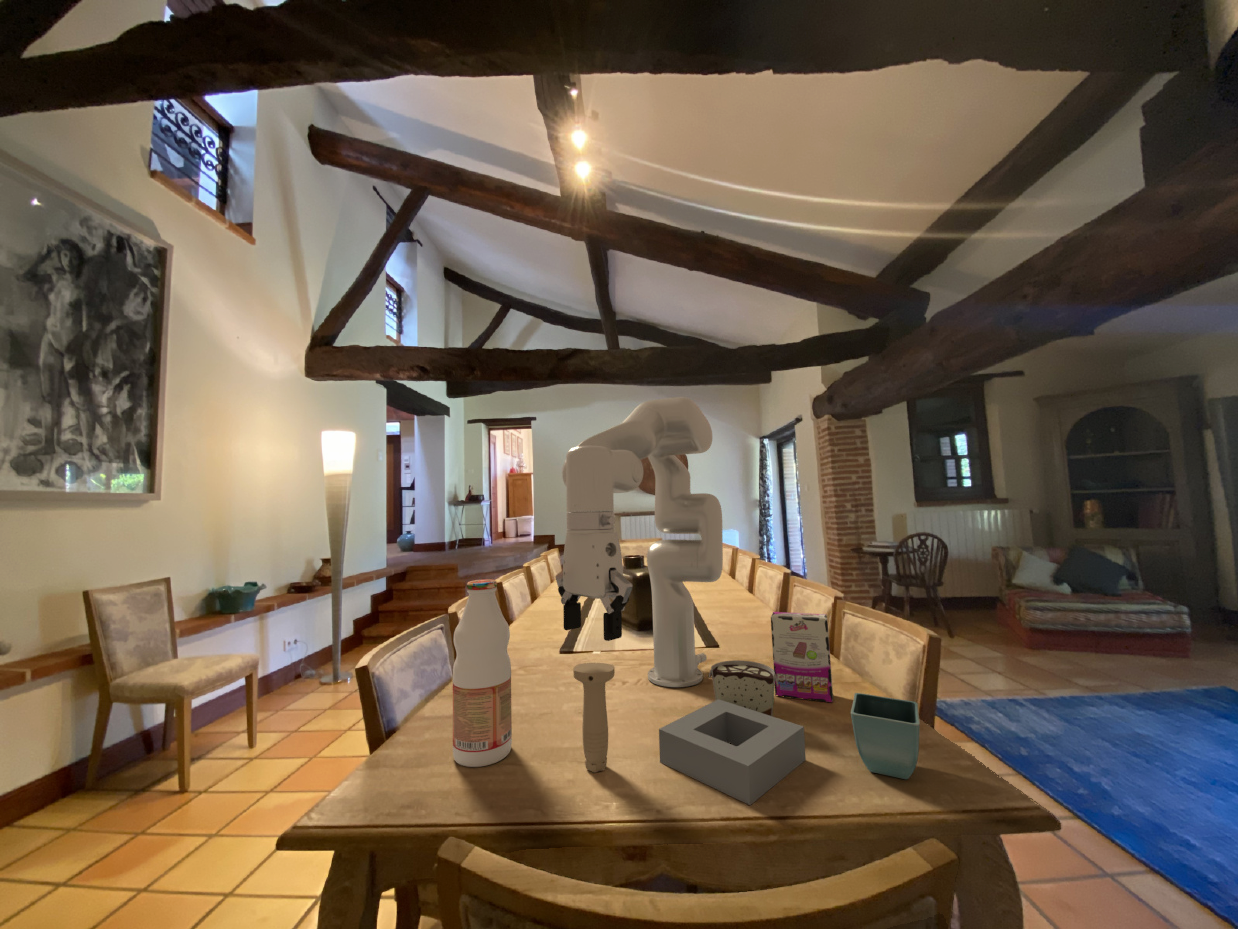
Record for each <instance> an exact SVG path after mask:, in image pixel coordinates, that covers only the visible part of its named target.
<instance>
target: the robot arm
mask: <svg viewBox="0 0 1238 929" xmlns="http://www.w3.org/2000/svg"><path fill="white" fill-rule="evenodd" d="M712 443H713V430H712V427H711V424H710V422H709V420H708V419H707V417H706V416H705V414H704V412H703V411H702V410H701V409H700V407H699V406H698V404H696V402H694V401H693V400H692V399H690V398H688V397H686V396H678V397H677V396H676V397H668V398H659V399H652V400H646V401H643V402H641V403H639V404H638V405H637V406H636V407H635V408H634V409H633V411H632V412H630V413H629V415H628V416H627V417H626V418H625V419H624V420H623V421H622V422H621V423H619V424H617V425H614V426H611V427H610V428H607V429H605V430H603V431H601V432H599V433H597V434H594V435H592V436H590V437H588V438H586V439H584V440H583V441H581V442H580V443H579V444H577V446H574V447H571V448H570V449H569V450H568V451H567V454H566V457H565V458H566V459H565V460H564V463H563V466H562V472H561V474H562V480H563V483H564V485H565V487H566V534H565V541H564V549H563V550H564V551H563V560H562V561H563V562H562V564H563V565H562V570H561V571H559V572H558V573H557V574H556V575H555V582H556V585H557V587H558V588H557V591H558V593H559V595H560V602H561V604H562V605H563V607H562V608H563V611H562V612H563V630H565V631H571V630H575V629H579V628H581V627H582V602H579V600H580V598H581V597H583V598H584V597H585V598H590V599H599V600H600V601H601V603H602V605H603V607H604V609H605V611H606V612H604V613H603V615H602V616H603V619H602V620H603V639H604V641H606V642H609V641H612V640H618V639H620V638H622V637H623V621H622V620H623V616H622V612H623V611H625V609H626V608H625V607H626V606H627V604H628V602H629V601H630V596H631V592H632V590H633V586H634V585H633V583H632V582H631V581H629V580H628V579H627V578H626V577H625V576H624V567H623V558H622V557H623V556H622V549H621V543H620V539H619V538H620V537H619V535H618V532H617V531H615V529H614V528H615V524H616V518H615V514H614V513H615V512H614V505H615V504H614V494H623V493H624V494H625V493H630V492H632V491H634V490H636V489H637V488H638V487H639V486H640V485H641V483H642V481H643V479H644V478H643V477H644V466H643V462H642V461H641V460H643V459H646V458H648V461H649V463H650V465H651V467H652V469H653V473H654V477H655V479H654V480H655V483H654V484H655V490H654V493H655V494H654V523H655V527H656V529H657V530H658V532H660V533H663V534H669V535H670V534H671V535H698V536H700V539H662V540H661V539H660V540H657V541H655V542H653V543H652V544H650V546H648V549H647V553H646V564H647V569H648V575H649V580H650V581H649V582H650V587H651V602H652V603H651V605H652V606H651V607H652V631H653V632H652V635H653V637H652V638H653V660H654V662H653V666H654V667H651V669H649V670H648V671H647V679H648V681H650V682H651V683H652V684H654V685H657V686H661V687H665V688H686V687H692V686H695V685H698V684H700V683H702V680H703V679H704V675H703V672H702V670H701V669H700V668H699V664H702V663H704V662H705V661H707V658H708V657H707V655H706V654H705V653H704V652H701V653H699V654H696V640H695V615H694V614H695V613H694V601H693V600H694V599H693V597H692V595H691V592H690V591H689V590H688V589H687V587H686V585H685V584H684V583H686V582H688V583H691V582H692V583H713V582H716V581H719V579H720V577H721V576H722V573H723V572H722V571H723V563H724V560H723V559H724V558H723V556H724V555H723V554H724V552H723V551H724V550H723V511H722V505H721V502H720V500H719V499H718V498H717V496H716V495H713V494H711V493H706V492H705V493H704V492H703V493H691V473H690V471H689V469H688V468H687V467H686V465H685V464H684V463H683V461H681V460H680V459H679V458H678V457H677V455H679V456H681V455H696V454H704V453H706V452H707V451H708V450H709V449H710V448H711V446H712ZM611 600H612V601H611Z"/></svg>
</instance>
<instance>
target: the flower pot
mask: <svg viewBox="0 0 1238 929" xmlns="http://www.w3.org/2000/svg"><path fill="white" fill-rule="evenodd" d="M850 717H851V723H852V730H853V734H854V742H855V746H856V749H857V751H858V754H859V756H860V759H861V761H862V762H863V764H864V766H865V767H866V769H867V770H868V771H869V772H871V773H874V774H875V773H876V774H879V775H884V776H888V777H893V778H897V779H902V780H908V779H909V778H910V777H911V776H912V774H913V773H914V771H915V769H916V767H917V764H918V759H919V751H920V750H919V748H920V731H921V730H920V728H921V726H920V725H921V722H920V714H919V703H918V702H917V701H912V700H908V699H901V698H892V697H886V696H879V695H874V694H870V693H868V694H867V693H862V692H854V694H853V700H852V704H851V709H850Z"/></svg>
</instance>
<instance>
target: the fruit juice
mask: <svg viewBox="0 0 1238 929" xmlns="http://www.w3.org/2000/svg"><path fill="white" fill-rule="evenodd" d="M497 587H498V583H497V580H496V579H490V578H487V579H485V578H484V579H475V580H474V579H473V580H470V581H468V582H466V593H468V597H467V600H466V603H465V606H464V610H463V612H462V616H461V619H460V620H459V622H458V624H457V626H456V627H455V629H454V632H453V645H454V648H455V652H456V658H455V660H454V663H453V667H452V668H453V669H452V756H453V759H454V761H455V762H456V764H458V765H460V766H463V767H466V768H467V767H468V768H479V767H480V768H481V767H485V766H490V765H493V764H496V763H499V762H500V761H502V760H503V759H505V758H506V757H507V756H508V755H509V754H510V752H511V750H512V740H513V739H512V735H513V734H512V729H513V726H512V723H513V722H512V720H513V719H512V665H511V657H510V655H509V653H508V645H509V642H510V638H511V632H510V631H511V630H510V626H509V624H508V622H507V621H506V619H505V617H504V615H503V613H502V610H501V608H500V604H499V602H498V599H497V597H496V591H497Z"/></svg>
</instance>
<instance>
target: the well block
mask: <svg viewBox="0 0 1238 929" xmlns="http://www.w3.org/2000/svg"><path fill="white" fill-rule="evenodd" d="M805 739H806V738H805V726H803V725H800V724H796V723H794V722H790V721H788V720H785V719H782V718H778V717H775V716H773V717H772V716H769V715H766V714H763V713H760V712H757V711H754V710H751V709H748V708H744V707H741V706H738V705H735V704H732V703H729V702H726V701H723V700H719V699H718V700H716V701H715V700H714V701H712V702H710V703H708V704H705V705H704V706H702V707H700V708H698V709H696V710H693V711H691V712H690V713H687V714H686V715H683V716H682V717H680V718H678V719H676V720H674V721H672V722H670V723H668V724H666V725H664V726H662V727H660V728H659V729H658V741H659V743H658V744H659V763H660V764H663V765H665V766H667V767H669V768H671V769H673V770H675V771H678V772H679V773H682V774H683V775H686V776H688V777H690V778H692V779H695V780H696V781H699V782H701V783H702V784H704V785H706V786H709V787H711V788H713V789H716V790H717V791H719V792H721V793H724V794H725V795H728V796H730V797H732V798H733V799H736V800H738V801H739V802H743V803H745V804H746V805H749V806H751V805H752V804H753V803H755V802H756V801H758V800H759V799H760V798H761V797H762V796H763V795H765V794H766V793H767V792H768V791H770V790H771V789H772V788H773V787H774V786H776V785H777V784H778V783H779V782H780V781H782V780H784V778H786V777H787V776H788V775H789V774H790V773H792V772H793V771H794V770H795V769H797V768H798V767H799V766H800V765H801V764H803V763H805V761H806V760H807V759H806V742H805ZM730 743H731V744H730Z"/></svg>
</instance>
